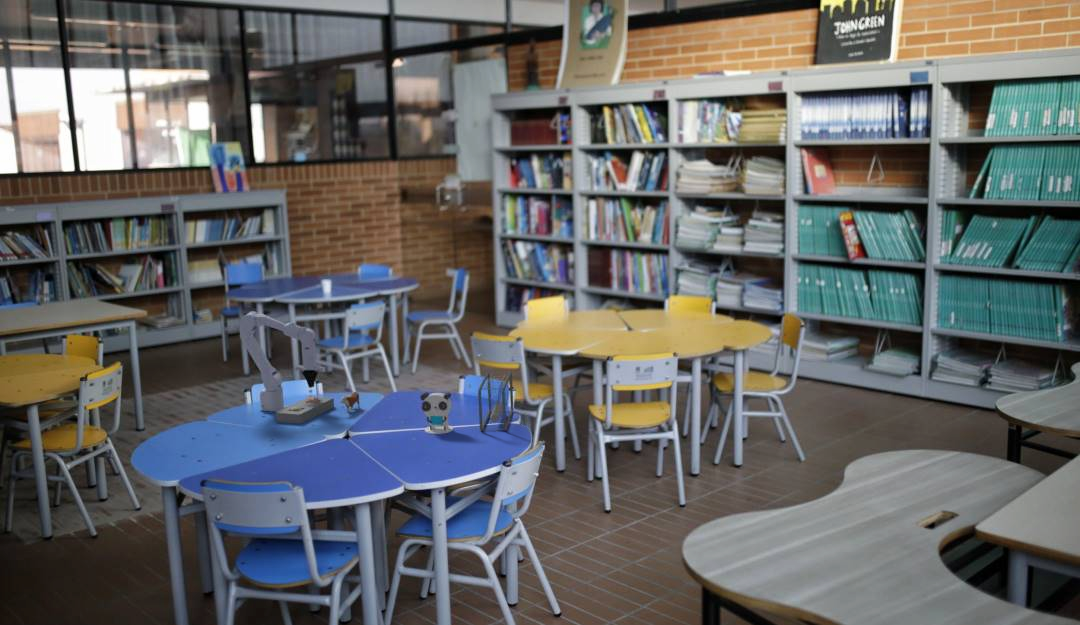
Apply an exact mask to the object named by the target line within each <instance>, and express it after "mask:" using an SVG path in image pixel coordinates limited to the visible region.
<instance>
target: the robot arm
mask: <svg viewBox="0 0 1080 625" xmlns="http://www.w3.org/2000/svg"><path fill="white" fill-rule="evenodd" d="M238 325H239V339H240V340H241V341H242V343H243V345H244V346H245V348H246V350H247V351H248V353H249V355H250V357H251V358H252V360H253V361H254V364H255V365H256V366H257V368H258V370H259V372H260V376H261V379H262V381H263V382H262V383H263V387H264V389H262V390H260V394H259V399H260V409H259V410H260V411H261V412H262V411H263V412H264V411H266V412H275V413H276V412H278V411H280V410H282V409H284V408H286V407H289V405H285V404H284V403H285V402H284V389H283V386H282V384H283V381H284V377H283V375H282V374H281V373H280V372H278V370H277V369H276V368H275V367H274V366H273V365H271V363H270V361H269V359H268V357H267V356H266V354H265V353H264V351H263V349H262V348H261V346H260V344H259V343H258V341H257V339H256V337H255V336H254V335H255V331H256V328H257V327H262V326H267V327H268V328H272V329H274V330H275V329H276V330H279V331H282V332H283V335H284V336H288V337H290V338H292V339H295V340H298V341H300V343H301V356H302V365H301V364H300V365H298V364H297V365H294V371H302V372H301V373H302V375H303V377H304V379H305V381H306V383H307V385H308V388H310V389H312V388H314V387H315V383H316V378H317V376H318V374H319V373H320V372H321V373H325V372H326V371H327V370H326V367H325V366H320V365H317V354H316V342H315V339H316V337H317V336H316V331H315V330H314V329H312V328H310V327H307V328H306V326H300V325H297V324H296V322H288V323H284V322H282V321H280V320H277V319H276V318H272V317H270V316H268V315H267V314H266V315H265V314H264V313H260V312H257V311H254V310H253V311H252V310H251V311H249V312H248V313H247V314H245V315H243V316H242V317H241V319H240V320H239V323H238Z"/></svg>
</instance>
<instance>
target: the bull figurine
mask: <svg viewBox="0 0 1080 625" xmlns="http://www.w3.org/2000/svg"><path fill="white" fill-rule="evenodd" d="M339 402H340V404H344V405H345V407H346V409H347V410H346V413H350V414H353V413H354V411H353V409H354V406H355V404H357V409H360V395H359V393H358V392H356V391H354V392H352V393H351V394H349V395H342V397H341V399H340V401H339Z"/></svg>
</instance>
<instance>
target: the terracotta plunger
mask: <svg viewBox="0 0 1080 625" xmlns="http://www.w3.org/2000/svg"><path fill="white" fill-rule="evenodd" d="M311 397H312V398H309V399H308V403H317V402H319V398H318V397H319V396H311Z"/></svg>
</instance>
